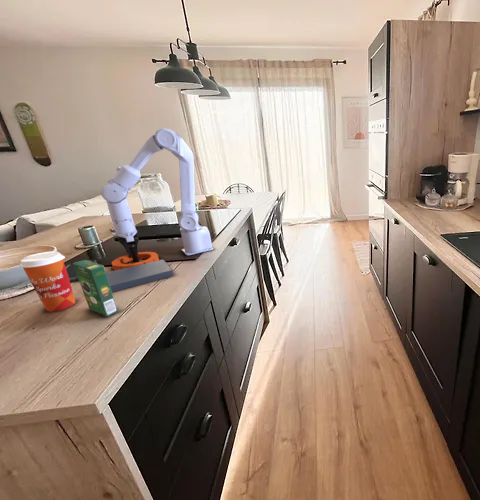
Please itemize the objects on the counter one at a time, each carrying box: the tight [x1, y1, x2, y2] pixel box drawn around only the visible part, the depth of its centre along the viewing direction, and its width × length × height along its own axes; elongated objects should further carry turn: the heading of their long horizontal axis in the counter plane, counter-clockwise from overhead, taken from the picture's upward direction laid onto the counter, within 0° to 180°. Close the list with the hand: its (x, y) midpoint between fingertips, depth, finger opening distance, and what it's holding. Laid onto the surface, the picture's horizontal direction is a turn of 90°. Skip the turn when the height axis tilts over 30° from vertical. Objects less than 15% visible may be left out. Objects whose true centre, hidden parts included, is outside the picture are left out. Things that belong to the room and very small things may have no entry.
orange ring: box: [111, 251, 160, 271], centre depth 100 cm, size 13×13×2 cm
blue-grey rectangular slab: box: [106, 259, 174, 293], centre depth 90 cm, size 16×12×2 cm
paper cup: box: [19, 250, 76, 312], centre depth 72 cm, size 8×8×14 cm
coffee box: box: [72, 259, 118, 318], centre depth 70 cm, size 8×3×13 cm, turn 65°
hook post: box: [128, 244, 144, 264], centre depth 99 cm, size 4×4×7 cm
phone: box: [65, 259, 98, 283], centre depth 93 cm, size 8×1×15 cm
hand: (133, 255), depth 104 cm, fingers closed on orange ring, 2 cm apart
